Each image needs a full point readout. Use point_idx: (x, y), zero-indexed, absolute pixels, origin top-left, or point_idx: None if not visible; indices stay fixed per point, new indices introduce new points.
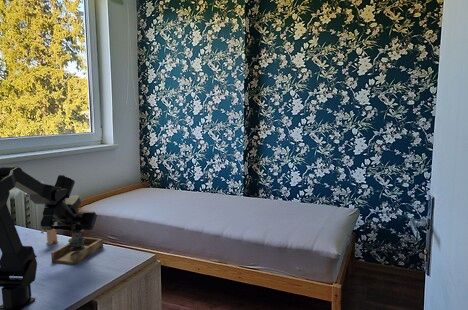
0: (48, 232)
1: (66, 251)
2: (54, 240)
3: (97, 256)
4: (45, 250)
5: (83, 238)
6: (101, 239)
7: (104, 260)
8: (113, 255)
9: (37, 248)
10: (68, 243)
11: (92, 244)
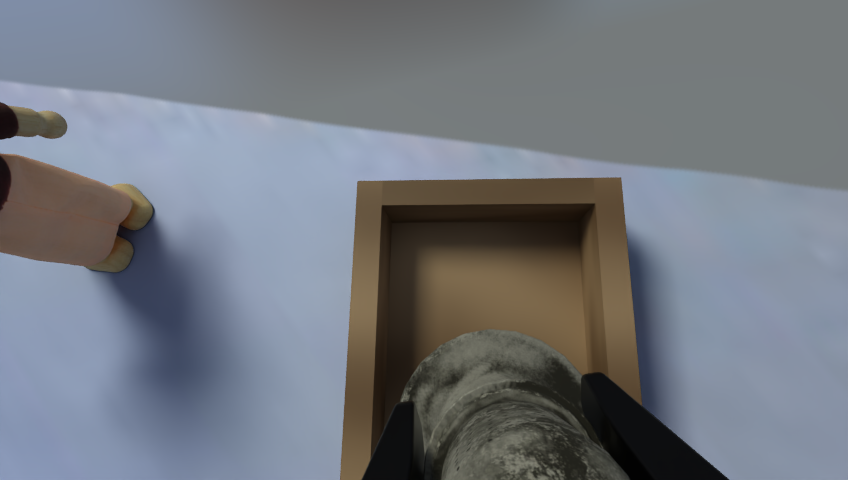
0: (2, 239)
1: (381, 432)
2: (118, 222)
3: (683, 391)
4: (149, 379)
5: (572, 397)
6: (618, 191)
7: (816, 460)
8: (812, 336)
9: (61, 357)
10: (350, 374)
11: (624, 337)
